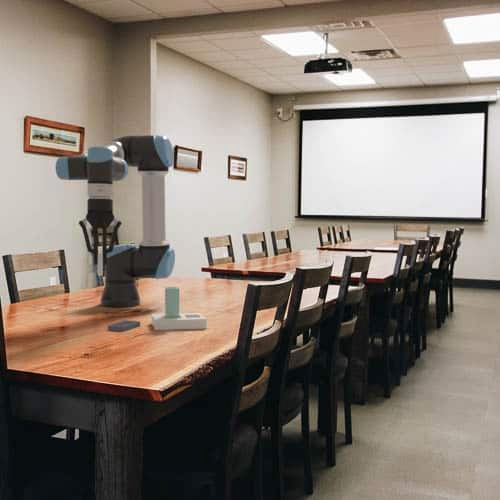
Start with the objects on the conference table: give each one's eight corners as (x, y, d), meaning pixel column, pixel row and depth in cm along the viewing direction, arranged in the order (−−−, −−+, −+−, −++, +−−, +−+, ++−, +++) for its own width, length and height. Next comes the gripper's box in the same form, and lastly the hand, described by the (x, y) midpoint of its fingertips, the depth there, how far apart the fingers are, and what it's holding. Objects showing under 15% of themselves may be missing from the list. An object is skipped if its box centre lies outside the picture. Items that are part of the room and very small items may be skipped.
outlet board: (151, 323, 211) (151, 313, 211) (200, 321, 215) (200, 312, 215) (154, 330, 199) (154, 319, 199) (206, 328, 203) (206, 318, 203)
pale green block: (165, 324, 208) (165, 286, 207) (177, 324, 209) (177, 286, 208) (166, 326, 204) (166, 287, 203) (179, 326, 205) (179, 287, 204)
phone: (125, 326, 208) (125, 319, 208) (140, 327, 206) (140, 321, 206) (107, 331, 198) (107, 325, 198) (123, 333, 196) (123, 326, 196)
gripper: (77, 197, 193) (78, 276, 194) (122, 198, 196) (122, 276, 197) (78, 198, 200) (78, 274, 201) (121, 198, 203) (121, 274, 205)
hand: (100, 275), depth 199 cm, fingers closed
